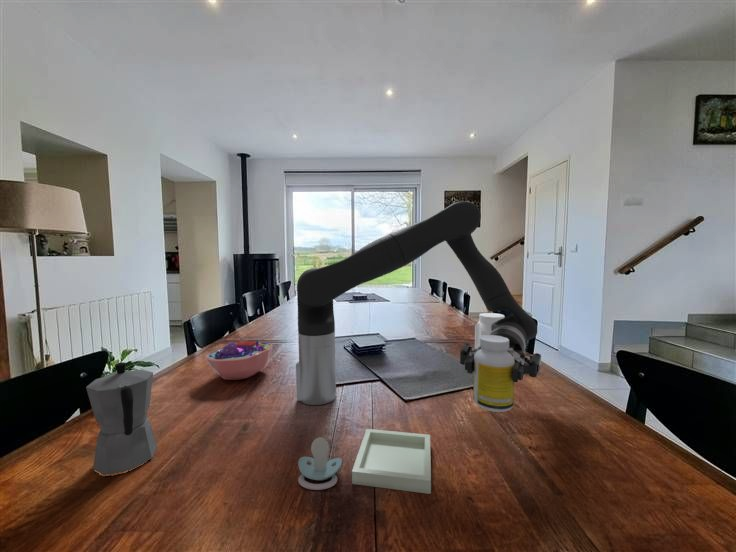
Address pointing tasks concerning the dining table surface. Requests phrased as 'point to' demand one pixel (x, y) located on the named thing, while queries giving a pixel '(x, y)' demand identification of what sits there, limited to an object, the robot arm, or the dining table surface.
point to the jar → (485, 325)
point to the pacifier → (318, 466)
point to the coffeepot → (122, 419)
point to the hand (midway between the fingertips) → (491, 371)
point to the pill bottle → (493, 374)
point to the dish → (394, 461)
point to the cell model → (239, 359)
